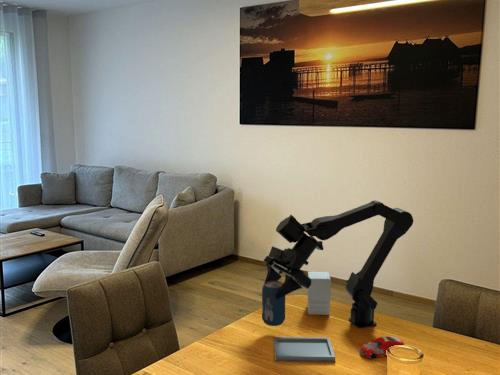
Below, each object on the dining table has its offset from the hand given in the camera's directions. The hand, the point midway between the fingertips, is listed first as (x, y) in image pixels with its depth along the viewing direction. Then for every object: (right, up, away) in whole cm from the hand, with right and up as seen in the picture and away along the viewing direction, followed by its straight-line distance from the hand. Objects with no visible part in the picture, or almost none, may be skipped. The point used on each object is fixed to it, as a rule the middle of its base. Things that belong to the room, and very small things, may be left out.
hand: (269, 294), depth 136 cm
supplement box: (+17, -10, +20) cm, 28 cm away
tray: (+9, -14, -8) cm, 19 cm away
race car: (+31, -15, -8) cm, 35 cm away
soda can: (+1, -9, +2) cm, 9 cm away
